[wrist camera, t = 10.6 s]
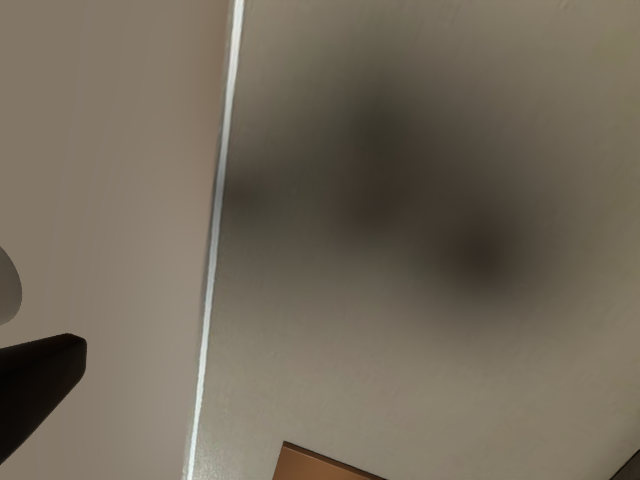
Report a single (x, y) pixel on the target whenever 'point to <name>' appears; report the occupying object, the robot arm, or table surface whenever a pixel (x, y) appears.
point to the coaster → (313, 467)
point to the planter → (630, 470)
